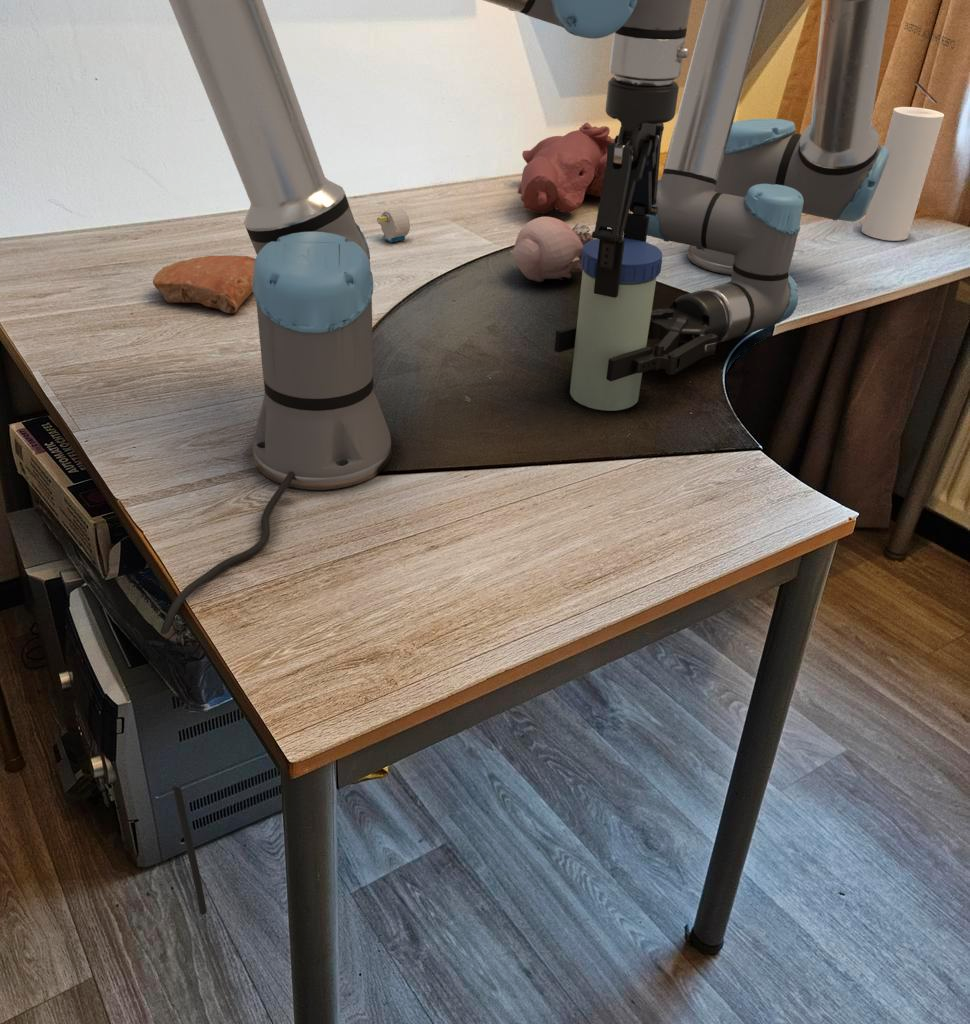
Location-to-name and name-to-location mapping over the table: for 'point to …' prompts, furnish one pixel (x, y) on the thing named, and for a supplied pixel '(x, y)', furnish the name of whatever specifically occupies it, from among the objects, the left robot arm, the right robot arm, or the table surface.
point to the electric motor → (394, 225)
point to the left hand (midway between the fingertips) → (618, 280)
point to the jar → (609, 342)
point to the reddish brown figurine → (565, 170)
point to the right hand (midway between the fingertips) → (582, 355)
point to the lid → (627, 260)
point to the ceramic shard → (208, 281)
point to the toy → (549, 248)
